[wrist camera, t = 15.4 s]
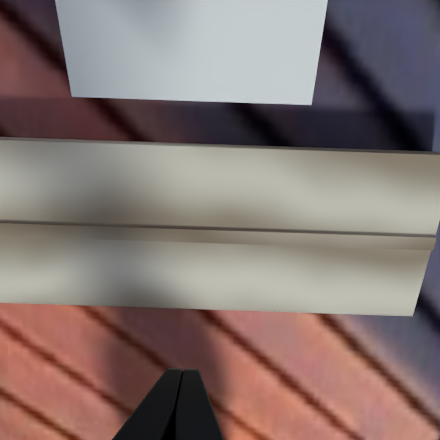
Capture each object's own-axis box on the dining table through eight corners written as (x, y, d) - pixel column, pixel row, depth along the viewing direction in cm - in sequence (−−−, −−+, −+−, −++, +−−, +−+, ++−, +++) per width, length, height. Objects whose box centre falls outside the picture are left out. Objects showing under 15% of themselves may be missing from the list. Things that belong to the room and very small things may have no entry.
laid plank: (395, 298, 21) (414, 317, 19) (-8, 284, 21) (-33, 302, 19) (432, 151, 18) (459, 155, 16) (-44, 135, 18) (-79, 137, 16)
